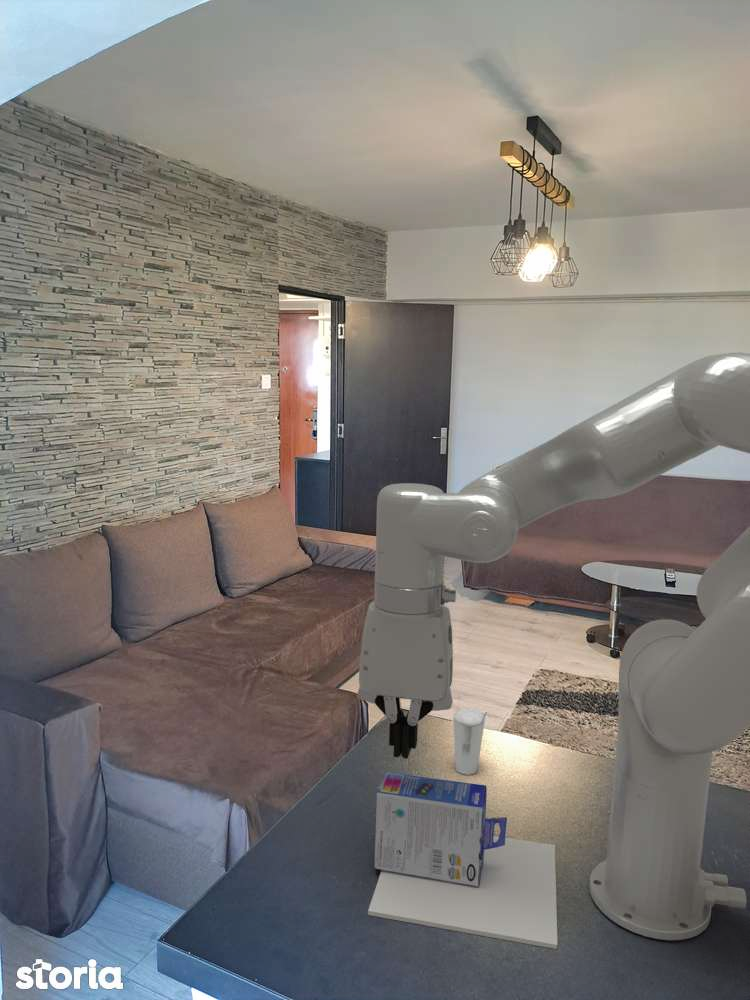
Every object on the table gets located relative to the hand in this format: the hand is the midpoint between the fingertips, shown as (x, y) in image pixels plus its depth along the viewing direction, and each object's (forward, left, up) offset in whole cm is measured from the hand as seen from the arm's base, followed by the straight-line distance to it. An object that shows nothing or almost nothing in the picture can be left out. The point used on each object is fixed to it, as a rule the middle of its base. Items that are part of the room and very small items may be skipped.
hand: (402, 751), depth 86 cm
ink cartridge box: (+3, 0, -9) cm, 9 cm away
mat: (-8, +1, -14) cm, 16 cm away
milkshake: (-6, -24, -14) cm, 29 cm away
